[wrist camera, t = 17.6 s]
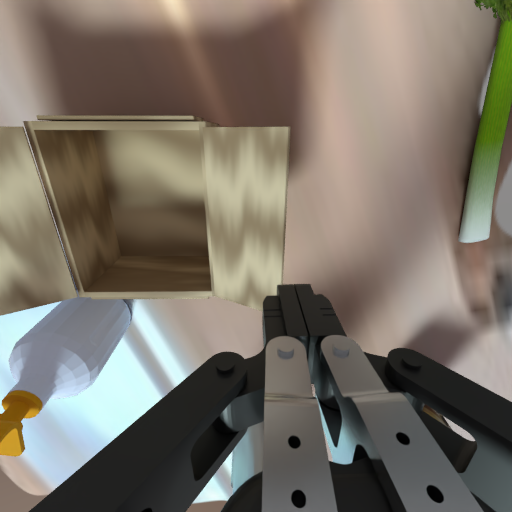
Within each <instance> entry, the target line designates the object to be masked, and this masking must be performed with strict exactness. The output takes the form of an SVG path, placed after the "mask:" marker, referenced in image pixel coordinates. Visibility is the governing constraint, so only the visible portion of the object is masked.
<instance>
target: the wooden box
mask: <svg viewBox="0 0 512 512" xmlns="http://www.w3.org/2000/svg"><path fill="white" fill-rule="evenodd" d="M37 119H38V120H50V121H23V122H24V125H25V128H26V131H27V135H28V138H29V141H30V144H31V147H32V150H33V153H34V156H35V160H36V163H37V166H38V169H39V172H40V175H41V178H42V181H43V184H44V188H45V191H46V194H47V197H48V200H49V203H50V206H51V209H52V213H53V216H54V219H55V222H56V225H57V228H58V231H59V234H60V237H61V241H62V244H63V247H64V250H65V253H66V256H67V259H68V262H69V266H70V269H71V272H72V275H73V278H74V281H75V284H76V287H77V291H78V294H79V297H91V299H209V296H215V290H214V276H213V263H212V249H211V235H210V222H209V208H208V194H207V181H206V167H205V153H204V140H203V127H219V124H216V123H211V122H203V118H200V117H196V116H40V115H37Z"/></svg>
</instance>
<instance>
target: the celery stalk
mask: <svg viewBox="0 0 512 512" xmlns="http://www.w3.org/2000/svg"><path fill="white" fill-rule="evenodd" d="M475 1H476V2H477V3H478V4H477V3H475V5H476V6H477V7H478V6H479V8H480V10H482V9H481V6H483V5H480V3H482V2H483V3H484V5H486V6H484V7H486V9H487V8H489V6H490V8H491V7H493V8H492V11H493V13H494V12H495V14H494V15H493V17H494V18H495V19H496V18H497V15H496V12H497V11H498V12H497V13H498V16H499V17H500V19H501V25H500V30H499V35H498V39H497V44H496V49H495V54H494V58H493V63H492V68H491V73H490V77H489V82H488V87H487V92H486V96H485V102H484V106H483V111H482V115H481V120H480V125H479V130H478V134H477V139H476V144H475V148H474V153H473V159H472V165H471V171H470V176H469V182H468V188H467V194H466V199H465V205H464V211H463V217H462V223H461V228H460V234H459V240H458V241H460V242H465V243H471V242H477V241H482V240H485V239H488V238H489V233H490V223H491V213H492V203H493V195H494V189H495V183H496V177H497V172H498V166H499V160H500V155H501V149H502V144H503V140H504V135H505V131H506V126H507V122H508V117H509V113H510V108H511V104H512V0H475ZM494 8H495V9H494ZM496 10H497V11H496Z"/></svg>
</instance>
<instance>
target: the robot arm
mask: <svg viewBox="0 0 512 512" xmlns="http://www.w3.org/2000/svg"><path fill="white" fill-rule="evenodd" d="M263 341H264V349H263V350H262V351H261V352H260V353H259V354H257V355H256V356H253V357H251V358H247V359H244V358H243V357H242V356H241V355H239V354H237V353H234V352H221V353H218V354H216V355H214V356H212V357H211V358H210V359H208V360H207V361H206V362H205V363H204V364H203V365H201V366H200V367H199V368H198V369H197V370H195V371H194V372H193V373H192V374H191V375H190V376H188V377H187V378H186V379H185V380H184V381H182V382H181V383H180V384H179V385H178V386H177V387H175V388H174V389H173V390H172V391H171V392H169V393H168V394H167V395H166V396H165V397H164V398H162V399H161V400H160V401H159V402H158V403H156V404H155V405H154V406H153V407H152V408H151V409H149V410H148V411H147V412H146V413H145V414H143V415H142V416H141V417H140V418H139V419H138V420H136V421H135V422H134V423H133V424H132V425H130V426H129V427H128V428H127V429H126V430H125V431H123V432H122V433H121V434H120V435H119V436H118V437H116V438H115V439H114V440H113V441H112V442H110V443H109V444H108V445H107V446H106V447H105V448H103V449H102V450H101V451H100V452H99V453H97V454H96V455H95V456H94V457H93V458H92V459H90V460H89V461H88V462H87V463H86V464H84V465H83V466H82V467H81V468H80V469H79V470H77V471H76V472H75V473H74V474H73V475H71V476H70V477H69V478H68V479H67V480H66V481H64V482H63V483H62V484H61V485H60V486H58V487H57V488H56V489H55V490H54V491H53V492H51V493H50V494H49V495H48V496H47V497H45V498H44V499H43V500H42V501H41V502H40V503H38V504H37V505H36V506H35V507H34V508H33V509H31V510H30V511H29V512H186V510H187V509H188V508H189V506H190V505H191V504H192V503H193V501H194V500H195V499H196V497H197V496H198V495H199V494H200V492H201V491H202V490H203V488H204V487H205V486H206V484H207V483H208V482H209V480H210V479H211V478H212V477H213V475H214V474H215V473H216V471H217V470H218V469H219V467H220V466H221V465H222V464H223V462H224V461H225V460H226V458H227V457H228V456H229V454H230V453H231V452H232V451H233V458H232V475H231V486H232V488H233V495H232V496H231V497H230V498H229V500H228V501H227V503H226V504H225V506H224V508H223V509H222V510H221V512H512V402H510V401H509V400H507V399H505V398H503V397H501V396H499V395H497V394H495V393H494V392H492V391H490V390H488V389H486V388H484V387H482V386H480V385H479V384H477V383H475V382H473V381H471V380H469V379H467V378H465V377H463V376H462V375H460V374H458V373H456V372H454V371H452V370H450V369H448V368H447V367H445V366H443V365H441V364H439V363H437V362H435V361H433V360H432V359H430V358H428V357H426V356H424V355H422V354H420V353H418V352H416V351H414V350H410V349H406V348H397V349H393V350H391V351H390V352H389V354H388V357H382V356H377V355H373V354H369V353H366V352H363V351H362V349H361V348H360V346H359V345H358V344H357V343H356V342H355V341H354V340H352V339H350V338H348V337H347V336H346V334H345V332H344V330H343V328H342V326H341V324H340V322H339V319H338V317H337V316H336V313H335V311H334V310H333V307H332V305H331V303H330V301H329V300H328V299H327V298H326V297H324V296H323V295H322V294H319V295H314V293H313V290H312V288H311V285H310V284H294V285H293V284H289V285H277V295H273V296H266V298H265V299H264V301H263ZM311 384H314V387H315V390H316V391H315V397H313V393H312V386H311ZM425 404H426V405H427V406H429V407H430V408H432V409H434V410H435V411H437V412H438V413H440V414H441V415H443V416H444V417H446V418H447V419H449V420H451V421H452V422H454V423H455V424H457V425H458V426H460V427H461V428H463V429H464V430H466V431H467V432H469V433H470V434H471V435H472V436H473V438H474V439H475V440H476V441H469V440H467V439H465V438H463V437H462V436H460V435H459V434H457V433H456V432H454V431H453V430H451V429H450V428H448V427H447V426H445V425H444V424H442V423H441V422H439V421H438V420H436V419H435V418H433V417H432V416H430V415H429V414H427V413H426V412H424V411H423V407H424V405H425ZM323 429H324V432H325V435H326V438H327V442H328V445H329V448H330V451H331V454H332V458H333V462H331V461H329V460H328V454H327V449H326V443H325V437H324V432H323Z"/></svg>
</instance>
